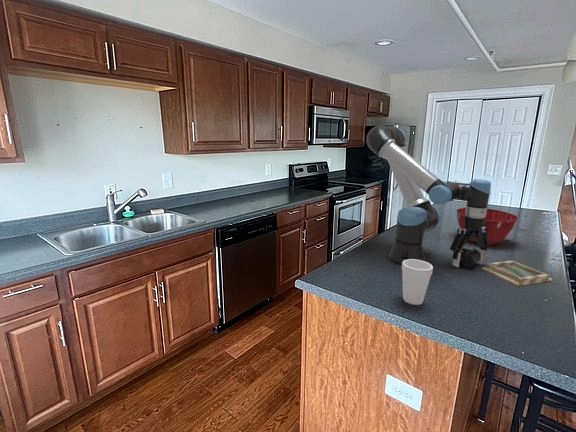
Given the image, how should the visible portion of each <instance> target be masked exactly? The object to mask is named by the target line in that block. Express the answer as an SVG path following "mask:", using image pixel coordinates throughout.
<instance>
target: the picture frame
mask: <svg viewBox="0 0 576 432" xmlns="http://www.w3.org/2000/svg"><path fill="white" fill-rule="evenodd" d="M481 270H482V271H485V272H487V273H489V274H491V275H492V276H495V277H497V278H499V279H502V280H504V281H506V282H508V283H510V284H512V285H514V286H517V287H519V286H528V285H532V284H533V285H535V284H541V283H547V282H552V281H553V278H551V277H550V275H549V274H547V273H546V272H542V271H540V270H538V269H535V268H532V267H530V266H527V265H525V264H522V263H519V262H518V261H515V260H506V261H499V262H497V261H496V262H489V263H486V265H485V267H481Z"/></svg>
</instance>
